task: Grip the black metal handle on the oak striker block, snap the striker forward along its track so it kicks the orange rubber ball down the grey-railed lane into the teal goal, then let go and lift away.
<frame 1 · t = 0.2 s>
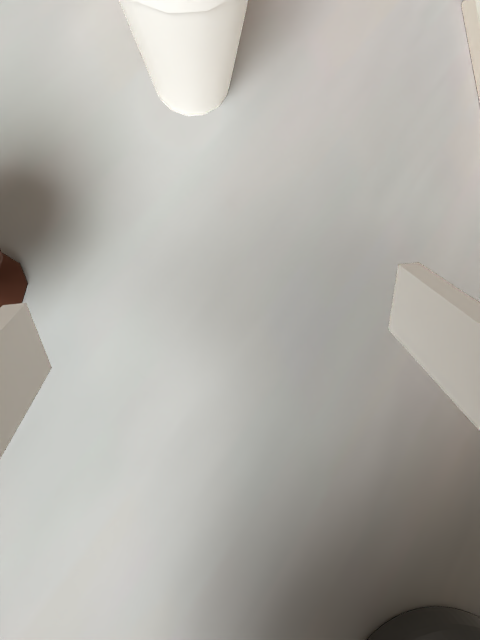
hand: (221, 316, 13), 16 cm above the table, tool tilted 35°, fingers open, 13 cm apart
foam cup: (192, 83, 31), on the table
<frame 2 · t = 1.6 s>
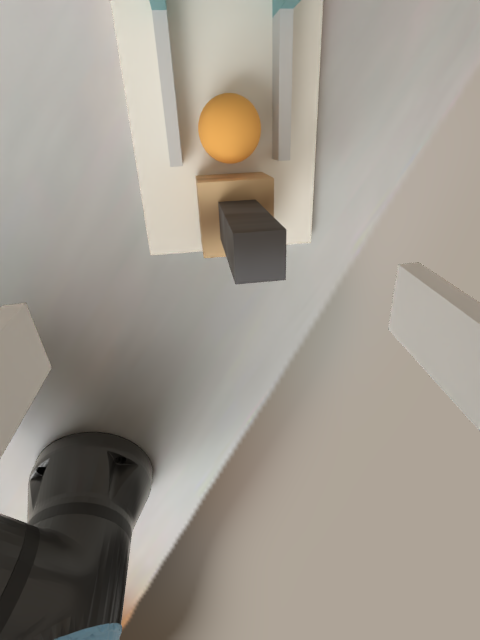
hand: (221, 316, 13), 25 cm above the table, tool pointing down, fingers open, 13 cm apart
ball: (229, 129, 29), point 4 cm above the table, touching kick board
striker: (242, 226, 28), point 9 cm above the table, slide at 0.0 cm
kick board: (222, 83, 31), on the table
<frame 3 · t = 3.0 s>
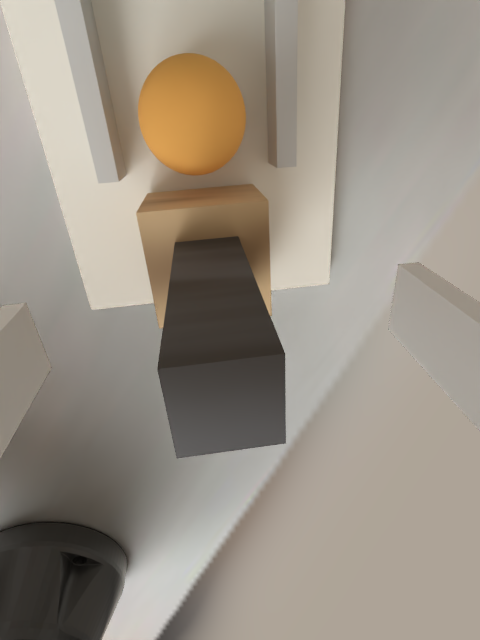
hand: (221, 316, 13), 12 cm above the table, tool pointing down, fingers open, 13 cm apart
ball: (192, 118, 17), point 4 cm above the table, touching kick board
striker: (212, 289, 16), point 9 cm above the table, slide at 0.0 cm
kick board: (184, 41, 19), on the table
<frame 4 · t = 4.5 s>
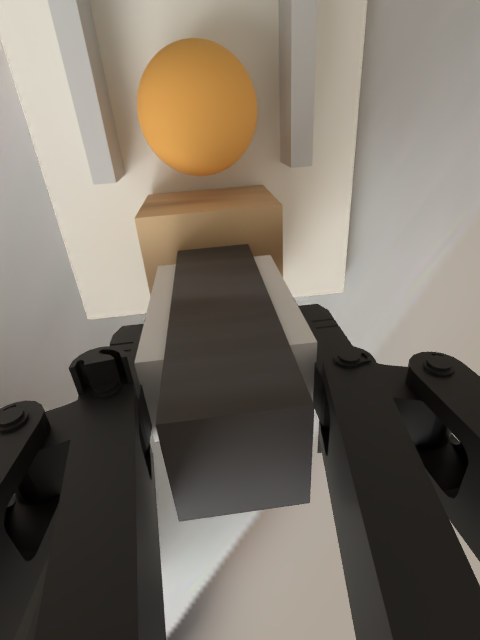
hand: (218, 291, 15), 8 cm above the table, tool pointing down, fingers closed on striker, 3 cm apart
ball: (198, 112, 16), point 4 cm above the table, touching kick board
striker: (219, 305, 14), point 9 cm above the table, slide at 0.0 cm, touching gripper
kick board: (188, 27, 17), on the table
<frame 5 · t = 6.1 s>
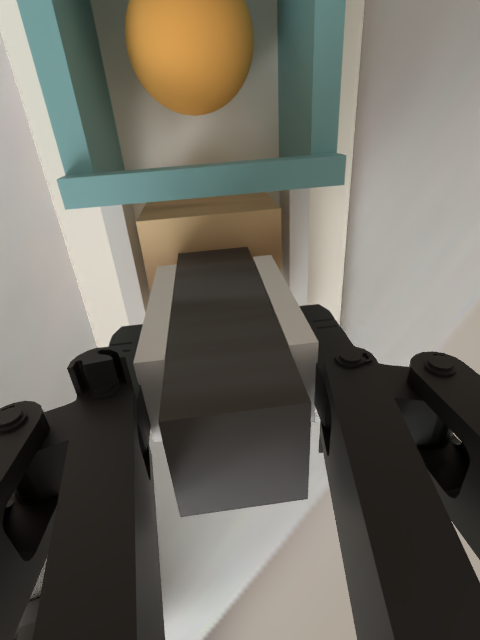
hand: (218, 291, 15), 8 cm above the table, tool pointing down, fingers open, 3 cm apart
goal: (194, 83, 19), resting on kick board
ball: (190, 43, 15), point 4 cm above the table, tilted 105°, touching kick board
striker: (219, 306, 14), point 9 cm above the table, slide at 10.0 cm
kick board: (210, 238, 22), on the table
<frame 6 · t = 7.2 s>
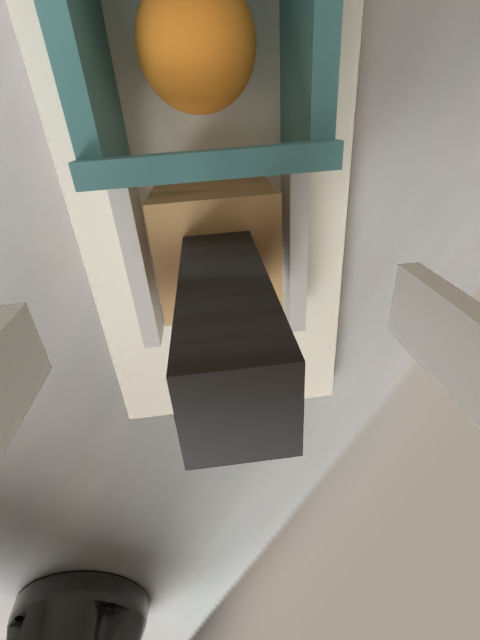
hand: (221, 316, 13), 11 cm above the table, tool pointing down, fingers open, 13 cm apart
goal: (198, 72, 19), resting on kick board
ball: (196, 46, 15), point 4 cm above the table, tilted 116°, touching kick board
striker: (222, 287, 15), point 9 cm above the table, slide at 10.0 cm
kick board: (213, 225, 23), on the table
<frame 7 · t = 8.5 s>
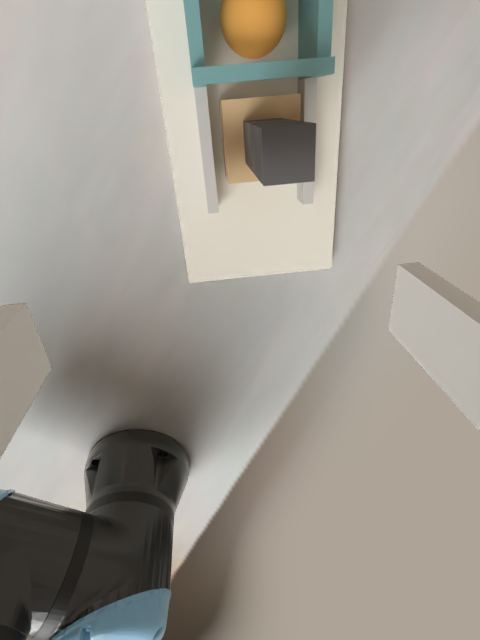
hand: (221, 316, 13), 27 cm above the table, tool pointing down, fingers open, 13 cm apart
goal: (247, 28, 31), resting on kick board
ball: (253, 18, 27), point 4 cm above the table, tilted 128°, touching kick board
striker: (267, 143, 27), point 9 cm above the table, slide at 10.0 cm
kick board: (252, 134, 35), on the table
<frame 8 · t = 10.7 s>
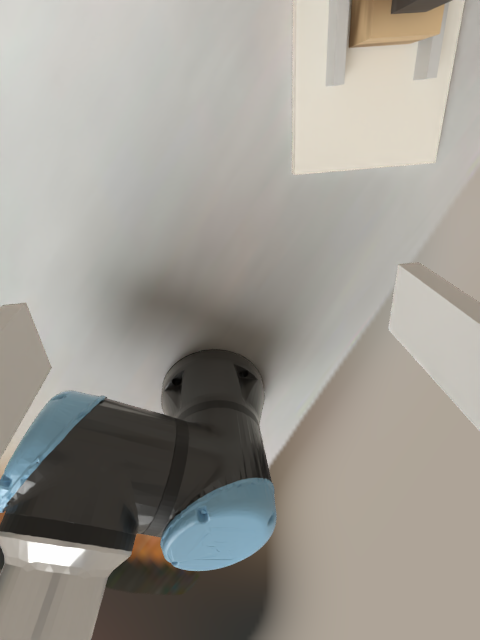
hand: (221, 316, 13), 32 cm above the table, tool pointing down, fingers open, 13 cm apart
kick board: (374, 9, 35), on the table
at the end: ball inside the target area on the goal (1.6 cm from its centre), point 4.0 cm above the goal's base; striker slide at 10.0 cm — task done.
